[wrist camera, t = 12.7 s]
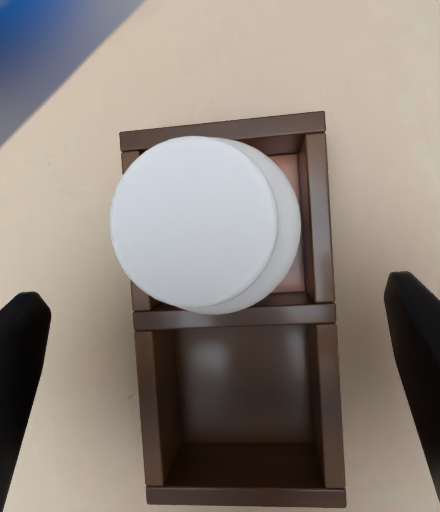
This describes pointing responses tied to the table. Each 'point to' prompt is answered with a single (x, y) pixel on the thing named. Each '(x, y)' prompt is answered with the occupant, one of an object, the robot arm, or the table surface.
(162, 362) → the box
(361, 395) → the table surface
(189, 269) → the supplement bottle
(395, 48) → the table surface
